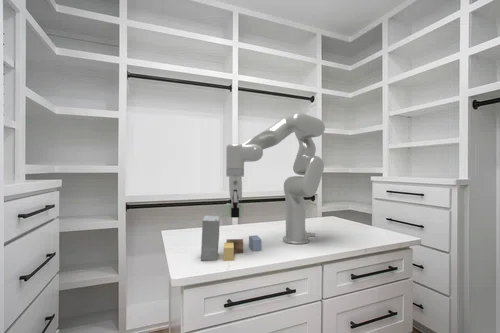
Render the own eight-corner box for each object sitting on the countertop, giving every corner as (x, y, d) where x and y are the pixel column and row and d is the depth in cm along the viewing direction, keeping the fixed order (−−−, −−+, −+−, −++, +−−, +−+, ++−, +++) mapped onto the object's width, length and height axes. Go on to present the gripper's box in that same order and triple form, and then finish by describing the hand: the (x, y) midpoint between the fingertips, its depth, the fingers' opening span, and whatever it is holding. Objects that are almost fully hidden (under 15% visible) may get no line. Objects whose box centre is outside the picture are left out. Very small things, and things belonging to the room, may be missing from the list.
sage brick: (241, 216, 109) (242, 204, 109) (242, 217, 105) (243, 205, 105) (225, 214, 108) (226, 203, 108) (225, 216, 105) (226, 204, 105)
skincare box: (202, 254, 104) (202, 215, 104) (219, 253, 105) (220, 215, 105) (200, 261, 96) (200, 219, 96) (219, 260, 96) (219, 219, 96)
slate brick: (248, 246, 114) (249, 235, 114) (257, 246, 115) (257, 235, 115) (253, 251, 107) (253, 239, 108) (261, 251, 108) (261, 239, 108)
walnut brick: (242, 250, 109) (242, 239, 109) (243, 253, 105) (243, 241, 105) (226, 251, 108) (226, 239, 108) (226, 254, 104) (226, 241, 105)
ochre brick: (224, 254, 103) (224, 242, 103) (233, 254, 104) (233, 242, 104) (223, 261, 96) (223, 247, 96) (233, 260, 97) (233, 247, 97)
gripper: (245, 173, 99) (245, 220, 99) (242, 173, 116) (242, 213, 115) (226, 173, 99) (225, 220, 98) (226, 172, 115) (226, 213, 115)
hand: (235, 215), depth 107 cm, fingers closed on sage brick, 3 cm apart
